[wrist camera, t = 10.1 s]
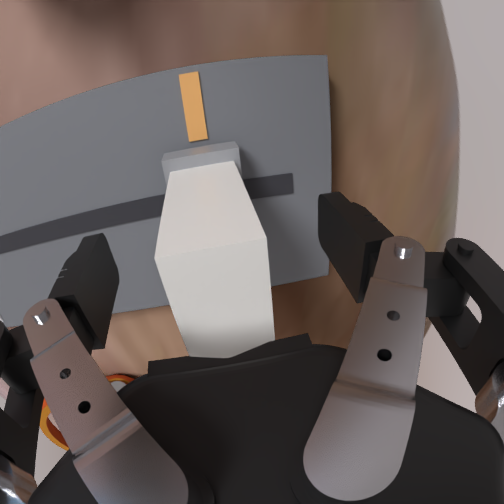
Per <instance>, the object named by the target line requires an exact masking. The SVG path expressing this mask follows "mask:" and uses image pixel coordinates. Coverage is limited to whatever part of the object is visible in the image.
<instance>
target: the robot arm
mask: <svg viewBox="0 0 504 504" xmlns="http://www.w3.org/2000/svg"><path fill="white" fill-rule="evenodd" d="M318 238H319V242H320V245H321V247H322V249H323V250H324V252H325V253H326V255H327V257H328V258H329V260H330V261H331V263H332V264H333V266H334V267H335V269H336V271H337V272H338V274H339V275H340V277H341V278H342V280H343V282H344V283H345V285H346V286H347V288H348V290H349V291H350V293H351V294H352V296H353V298H354V299H355V301H356V303H361V302H363V305H362V308H361V311H360V314H359V317H358V320H357V323H356V326H355V329H354V332H353V335H352V338H351V341H350V344H349V346H348V349H344V348H340V347H336V346H330V345H320V344H312V342H311V340H310V337H309V335H308V333H306V334H302V335H297V336H293V337H288V338H284V339H279V340H274V341H270V342H267V343H265V344H262V345H260V346H257V347H255V348H253V349H250V350H248V351H245V352H243V353H241V354H238V355H236V356H233V357H230V358H209V357H190V356H185V357H178V358H171V359H163V360H155V361H149V362H148V374H145V375H143V376H141V377H139V378H136V379H135V380H133V381H131V382H129V383H128V384H127V385H125V386H124V387H123V388H121V389H120V390H119V391H118V392H117V391H116V390H115V389H114V387H113V386H112V385H111V383H110V382H109V381H108V379H107V378H106V376H105V375H104V374H103V372H102V371H101V369H100V368H99V366H98V365H97V364H96V362H95V361H94V359H93V358H92V356H91V353H92V350H95V349H104V348H105V344H106V339H107V334H108V329H109V325H110V320H111V316H112V311H113V307H114V303H115V298H116V294H117V290H118V286H119V272H118V268H117V265H116V263H115V260H114V257H113V255H112V252H111V250H110V247H109V244H108V241H107V239H106V237H105V235H104V234H103V233H98V234H94V235H90V236H85V237H83V239H82V241H81V243H80V245H79V247H78V249H77V250H76V252H74V253H73V254H72V255H71V256H70V257H69V258H68V259H67V260H66V261H65V263H64V265H63V267H62V269H61V270H62V271H60V273H59V275H58V278H57V279H56V281H55V283H54V285H53V288H52V290H51V292H50V294H49V296H48V298H47V299H44V300H41V301H39V302H37V303H36V304H34V305H33V306H32V307H31V308H30V309H29V310H28V311H27V312H26V314H25V316H24V318H23V325H21V326H18V327H16V328H13V329H11V330H8V329H7V328H6V326H5V325H4V323H3V322H2V321H1V320H0V377H1V378H2V379H3V380H4V381H5V382H6V383H7V384H8V385H9V386H10V388H9V392H8V396H7V400H6V404H5V408H4V411H3V410H2V409H1V408H0V504H504V271H503V270H502V269H501V268H500V267H499V266H498V265H497V264H496V263H495V262H494V261H493V260H492V259H491V258H490V257H489V256H488V255H487V254H486V253H485V252H484V251H483V250H482V249H481V248H480V247H479V246H478V245H477V244H475V243H473V242H472V241H469V240H466V239H463V238H453V239H450V240H448V241H447V243H446V247H445V250H444V252H425V250H424V248H423V246H422V245H421V244H420V243H419V242H417V241H415V240H413V239H411V238H408V237H403V236H394V235H393V234H392V233H391V232H390V231H389V230H388V229H387V228H386V227H385V226H384V225H383V224H382V223H381V222H380V221H378V219H377V218H376V217H375V216H372V214H371V213H370V212H369V211H368V210H367V209H366V208H365V207H363V206H361V205H359V204H357V203H354V202H352V203H351V202H350V201H349V200H348V199H347V198H346V197H345V196H344V195H343V194H341V193H340V192H332V193H324V194H320V195H319V197H318ZM470 296H471V297H472V298H473V300H474V301H475V302H476V303H477V304H478V306H479V308H480V310H481V314H482V320H481V323H479V322H478V320H477V319H476V318H475V316H474V315H473V314H472V312H471V311H470V310H469V308H468V307H467V306H466V304H467V301H468V299H469V297H470ZM425 317H428V318H429V319H430V321H431V322H432V324H433V325H434V327H435V328H436V330H437V331H438V332H439V334H440V336H441V338H442V339H443V341H444V342H445V344H446V346H447V347H448V349H449V350H450V352H451V354H452V355H453V357H454V358H455V360H456V362H457V364H458V365H459V367H460V369H461V370H462V372H463V374H464V375H465V377H466V379H467V381H468V382H469V384H470V386H471V388H472V390H473V391H474V393H475V395H476V399H475V408H476V412H477V413H474V412H472V411H470V410H468V409H466V408H464V407H461V406H460V405H457V404H455V403H453V402H451V401H449V400H447V399H445V398H443V397H441V396H439V395H437V394H435V393H433V392H430V391H429V390H427V389H424V388H423V387H421V386H419V385H417V384H416V383H417V378H418V372H419V366H420V359H421V352H422V345H423V336H424V327H425ZM44 398H45V400H46V402H47V405H48V407H49V409H50V411H51V413H52V415H53V417H54V419H55V421H56V423H57V425H58V427H59V429H60V431H61V433H62V435H63V437H64V439H65V441H66V443H67V444H68V446H69V450H68V451H67V452H66V453H65V454H64V456H63V457H62V458H61V459H60V460H59V462H58V463H57V464H56V465H55V467H54V468H53V469H52V470H51V471H50V473H49V474H48V475H47V476H46V477H45V479H44V480H43V481H42V482H41V483H40V485H39V486H38V487H37V484H36V481H35V480H34V472H35V460H36V449H37V441H38V432H39V426H40V419H41V413H42V407H43V401H44Z"/></svg>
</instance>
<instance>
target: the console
mask: <svg viewBox="0 0 504 504" xmlns="http://www.w3.org/2000/svg"><path fill="white" fill-rule="evenodd" d="M231 141H235V142H236V144H237V146H238V147H239V155H240V163H241V171H242V180H243V183H244V186H245V188H246V190H247V193H248V195H249V197H250V200H251V202H252V204H253V207H254V209H255V211H256V214H257V216H258V219H259V221H260V223H261V226H262V228H263V230H264V233H265V235H266V238H267V248H268V259H269V271H270V283H271V286H276V285H281V284H286V283H291V282H296V281H301V280H306V279H311V278H316V277H321V276H325V275H328V272H329V258H328V257H327V255H326V253H325V252H324V250H323V249H322V247H321V245H320V242H319V238H318V197H319V195H320V194H324V193H331V120H330V95H329V77H328V61H327V55H293V56H271V57H257V58H245V59H235V60H227V61H219V62H211V63H204V64H198V65H192V66H186V67H181V68H175V69H170V70H165V71H160V72H156V73H151V74H147V75H143V76H139V77H135V78H131V79H127V80H123V81H120V82H116V83H112V84H109V85H106V86H102V87H99V88H96V89H93V90H90V91H86V92H83V93H80V94H78V95H75V96H72V97H69V98H66V99H64V100H61V101H58V102H56V103H53V104H50V105H48V106H45V107H43V108H41V109H38V110H36V111H33V112H31V113H29V114H27V115H24V116H22V117H20V118H18V119H15V120H13V121H11V122H9V123H7V124H5V125H3V126H1V127H0V320H1V321H2V322H3V323H4V325H5V326H6V327H12V326H21V325H23V318H24V316H25V314H26V312H27V311H28V310H29V309H30V308H31V307H32V306H33V305H34V304H36V303H37V302H39V301H41V300H44V299H47V298H48V296H49V294H50V292H51V290H52V288H53V285H54V283H55V281H56V279H57V278H58V275H59V273H60V271H62V270H61V269H62V267H63V265H64V263H65V261H66V260H67V259H68V258H69V257H70V256H71V255H72V254H73V253H74V252H76V250H77V249H78V247H79V245H80V243H81V241H82V239H83V237H85V236H90V235H94V234H98V233H103V234H104V235H105V237H106V239H107V241H108V244H109V247H110V250H111V252H112V255H113V257H114V260H115V263H116V265H117V268H118V272H119V286H118V290H117V294H116V298H115V303H114V307H113V311H112V314H113V313H120V312H127V311H133V310H140V309H146V308H152V307H159V306H165V305H170V303H169V300H168V298H167V295H166V292H165V289H164V286H163V283H162V280H161V277H160V274H159V271H158V268H157V265H156V262H155V259H154V257H155V251H156V244H157V238H158V232H159V226H160V221H161V215H162V210H163V205H164V199H165V194H166V189H167V185H166V181H165V176H164V172H163V167H162V162H161V161H162V158H163V155H164V153H169V152H174V151H179V150H184V149H190V148H195V147H201V146H206V145H212V144H218V143H225V142H231Z"/></svg>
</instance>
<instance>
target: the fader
mask: <svg viewBox="0 0 504 504" xmlns="http://www.w3.org/2000/svg"><path fill="white" fill-rule="evenodd" d="M161 162H162V167H163V172H164V176H165V181H166V185H167V189H166V194H165V199H164V205H163V210H162V215H161V221H160V226H159V232H158V238H157V244H156V251H155V257H154V259H155V262H156V265H157V268H158V271H159V274H160V277H161V280H162V283H163V286H164V289H165V292H166V295H167V298H168V300H169V303H170V306H171V309H172V312H173V314H174V317H175V320H176V322H177V325H178V328H179V330H180V333H181V336H182V338H183V341H184V343H185V346H186V349H187V351H188V354H189V356H190V357H209V358H230V357H233V356H236V355H238V354H241V353H243V352H245V351H248V350H250V349H253V348H255V347H257V346H260V345H262V344H265V343H267V342H270V341H274V340H275V334H274V321H273V308H272V295H271V283H270V271H269V259H268V248H267V238H266V235H265V233H264V230H263V228H262V226H261V223H260V221H259V219H258V216H257V214H256V211H255V209H254V207H253V204H252V202H251V200H250V197H249V195H248V193H247V190H246V188H245V186H244V183H243V180H242V171H241V163H240V155H239V147H238V146H237V144H236V142H235V141H231V142H225V143H218V144H212V145H206V146H201V147H195V148H190V149H184V150H179V151H174V152H169V153H164V155H163V158H162V161H161Z"/></svg>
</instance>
